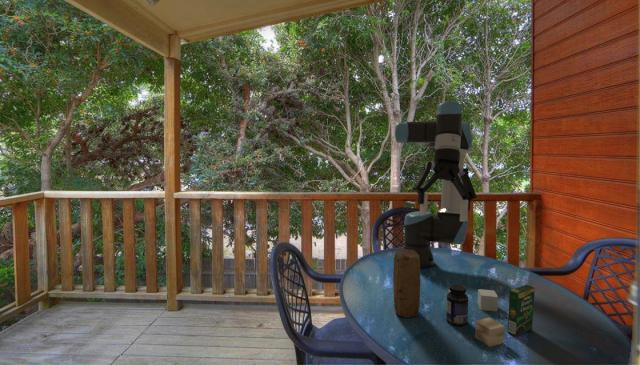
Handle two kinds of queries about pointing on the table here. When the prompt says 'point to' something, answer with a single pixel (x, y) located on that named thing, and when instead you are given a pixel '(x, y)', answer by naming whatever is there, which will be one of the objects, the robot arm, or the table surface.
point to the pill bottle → (457, 305)
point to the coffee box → (521, 310)
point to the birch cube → (489, 331)
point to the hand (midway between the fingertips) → (443, 218)
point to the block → (406, 282)
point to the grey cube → (487, 300)
